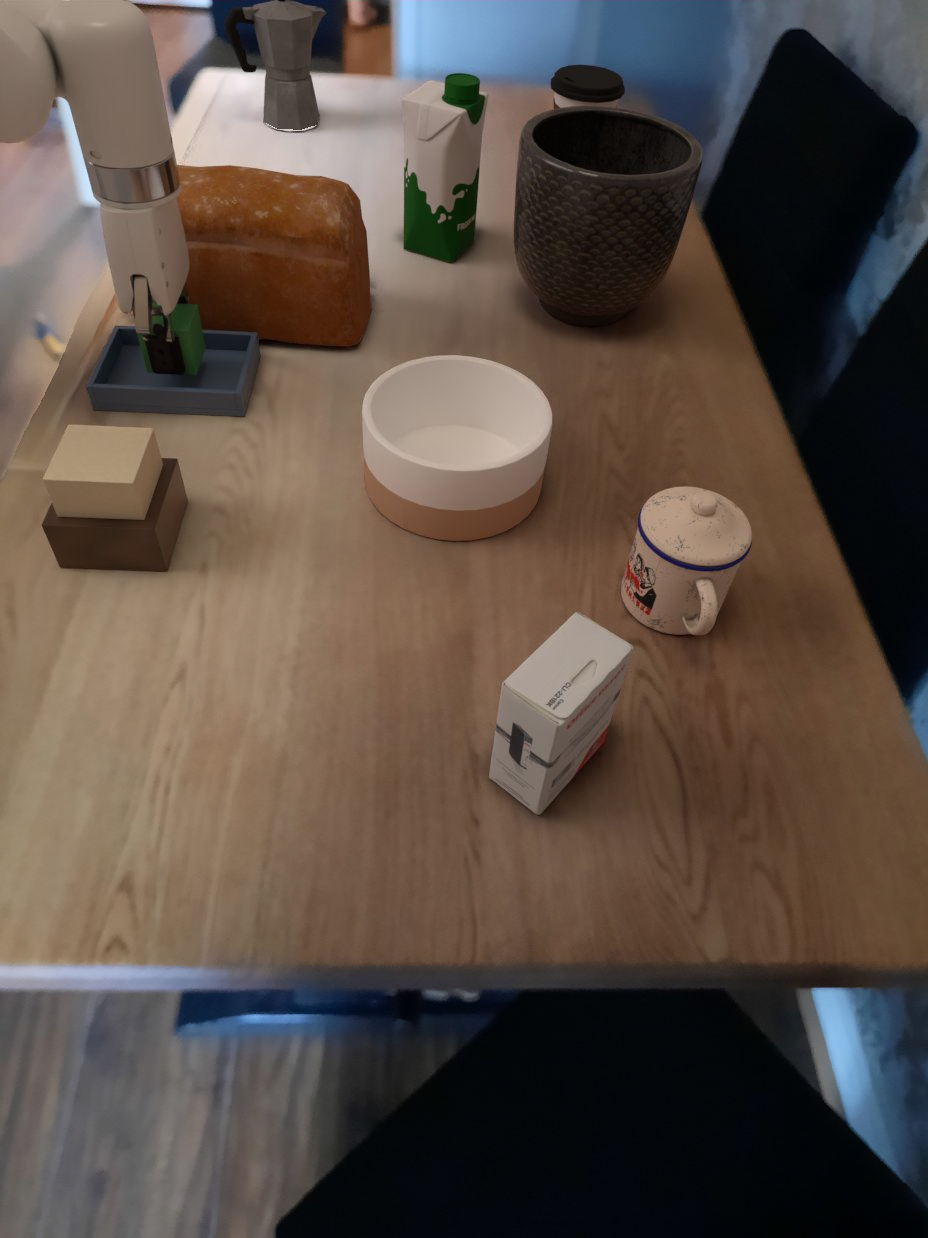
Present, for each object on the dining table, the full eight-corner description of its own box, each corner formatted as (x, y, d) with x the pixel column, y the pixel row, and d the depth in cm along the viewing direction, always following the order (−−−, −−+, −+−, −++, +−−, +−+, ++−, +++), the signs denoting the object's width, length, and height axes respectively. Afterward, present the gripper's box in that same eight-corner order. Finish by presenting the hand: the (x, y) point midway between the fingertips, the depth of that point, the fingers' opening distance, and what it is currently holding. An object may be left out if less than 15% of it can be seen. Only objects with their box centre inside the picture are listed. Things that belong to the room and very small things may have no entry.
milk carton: (455, 268, 109) (465, 95, 94) (392, 250, 112) (392, 77, 96) (483, 240, 115) (496, 72, 100) (423, 223, 117) (427, 55, 102)
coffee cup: (569, 183, 128) (582, 94, 119) (527, 155, 134) (536, 68, 124) (625, 170, 132) (642, 83, 123) (581, 143, 138) (594, 58, 129)
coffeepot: (322, 106, 141) (314, -27, 128) (341, 128, 136) (334, -8, 122) (230, 115, 137) (211, -22, 123) (245, 138, 131) (227, -2, 118)
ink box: (553, 705, 67) (578, 605, 57) (605, 742, 65) (639, 645, 56) (484, 777, 62) (499, 681, 53) (538, 818, 60) (563, 726, 51)
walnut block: (59, 567, 73) (41, 525, 69) (88, 496, 78) (73, 453, 75) (167, 571, 73) (154, 529, 69) (188, 500, 79) (177, 458, 75)
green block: (147, 372, 87) (135, 328, 83) (158, 345, 90) (147, 301, 86) (196, 375, 87) (187, 331, 83) (206, 347, 90) (197, 303, 87)
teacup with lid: (608, 561, 77) (635, 460, 68) (705, 560, 78) (745, 459, 69) (635, 668, 69) (671, 570, 60) (743, 665, 70) (794, 568, 61)
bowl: (339, 445, 85) (335, 373, 79) (494, 410, 90) (502, 340, 84) (403, 562, 75) (404, 490, 69) (572, 515, 81) (588, 444, 74)
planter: (670, 280, 111) (711, 120, 96) (651, 362, 98) (696, 192, 84) (522, 253, 113) (540, 93, 99) (486, 329, 101) (501, 158, 86)
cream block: (57, 517, 69) (41, 479, 66) (81, 461, 74) (68, 423, 71) (144, 520, 70) (133, 483, 67) (163, 465, 74) (153, 427, 71)
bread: (162, 274, 104) (131, 136, 92) (376, 292, 104) (373, 157, 92) (127, 336, 95) (88, 192, 83) (361, 355, 96) (355, 215, 84)
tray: (92, 409, 87) (85, 386, 84) (120, 348, 94) (114, 324, 92) (244, 416, 87) (240, 393, 85) (260, 354, 95) (257, 332, 92)
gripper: (115, 131, 80) (157, 310, 94) (60, 215, 69) (117, 404, 83) (196, 136, 80) (226, 314, 94) (155, 220, 69) (196, 407, 83)
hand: (175, 354), depth 88 cm, fingers closed on green block, 5 cm apart
